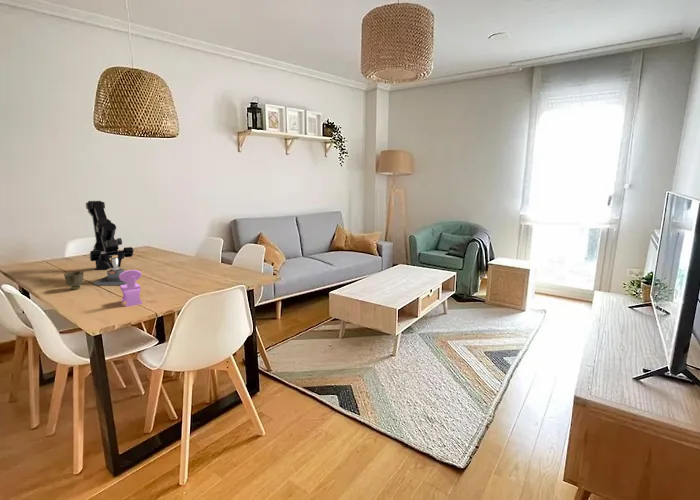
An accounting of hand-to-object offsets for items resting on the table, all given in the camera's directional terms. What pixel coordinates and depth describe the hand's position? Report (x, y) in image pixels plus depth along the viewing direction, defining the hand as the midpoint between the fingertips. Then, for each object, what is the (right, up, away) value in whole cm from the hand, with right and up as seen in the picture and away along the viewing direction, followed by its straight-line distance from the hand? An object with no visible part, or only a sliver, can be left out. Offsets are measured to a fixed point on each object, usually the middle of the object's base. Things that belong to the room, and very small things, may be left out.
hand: (115, 267), depth 187 cm
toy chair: (+25, -14, -28) cm, 40 cm away
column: (-1, -7, +2) cm, 8 cm away
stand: (-1, -7, +2) cm, 8 cm away
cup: (-12, -10, -11) cm, 19 cm away
